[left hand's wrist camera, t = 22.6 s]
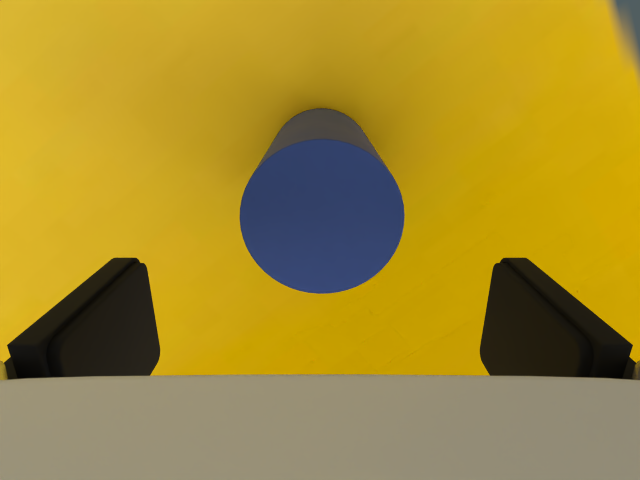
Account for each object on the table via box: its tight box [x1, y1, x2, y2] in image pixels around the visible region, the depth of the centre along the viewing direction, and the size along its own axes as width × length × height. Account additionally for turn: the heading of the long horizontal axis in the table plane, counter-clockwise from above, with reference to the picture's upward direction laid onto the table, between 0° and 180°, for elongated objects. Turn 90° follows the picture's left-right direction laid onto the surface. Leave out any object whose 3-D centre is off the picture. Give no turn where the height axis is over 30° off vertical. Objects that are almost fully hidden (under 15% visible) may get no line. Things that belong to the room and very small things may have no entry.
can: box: [240, 108, 404, 293], centre depth 20 cm, size 6×6×11 cm
